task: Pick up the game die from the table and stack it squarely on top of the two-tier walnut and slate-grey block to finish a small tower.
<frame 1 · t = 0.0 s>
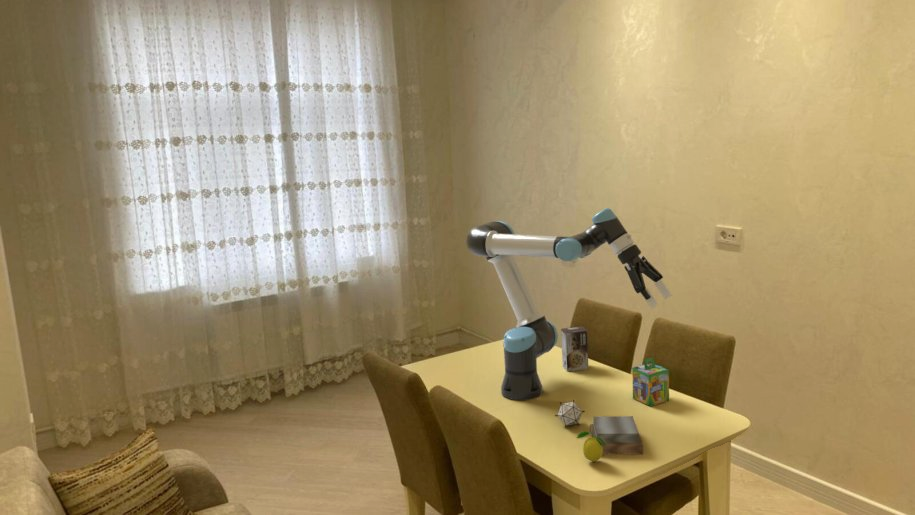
hand: (662, 302, 223), 36 cm above the table, tool tilted 35°, fingers open, 13 cm apart
chalk box: (650, 400, 233), on the table
lemon: (592, 462, 192), on the table
game die: (570, 425, 217), on the table
tower base: (615, 443, 203), on the table
coffee box: (575, 368, 268), on the table
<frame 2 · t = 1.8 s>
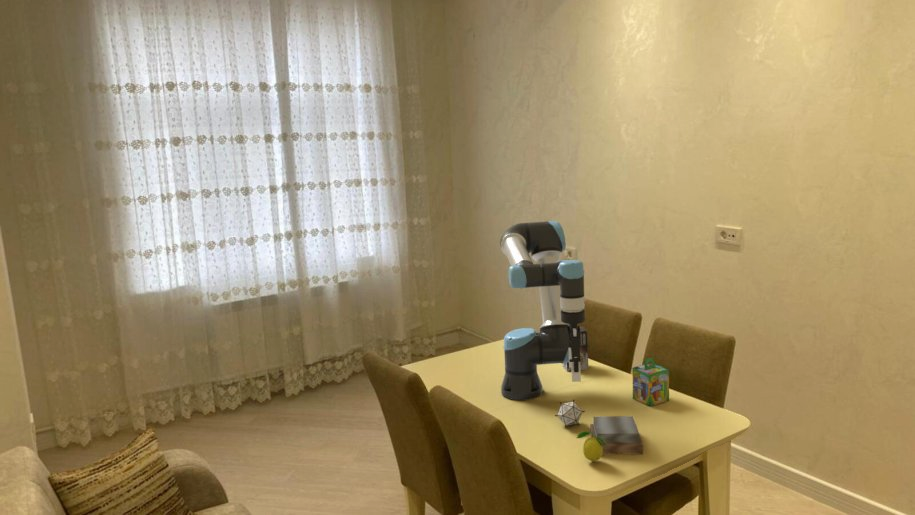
hand: (574, 374, 214), 17 cm above the table, tool pointing down, fingers open, 13 cm apart
nothing on the table moved.
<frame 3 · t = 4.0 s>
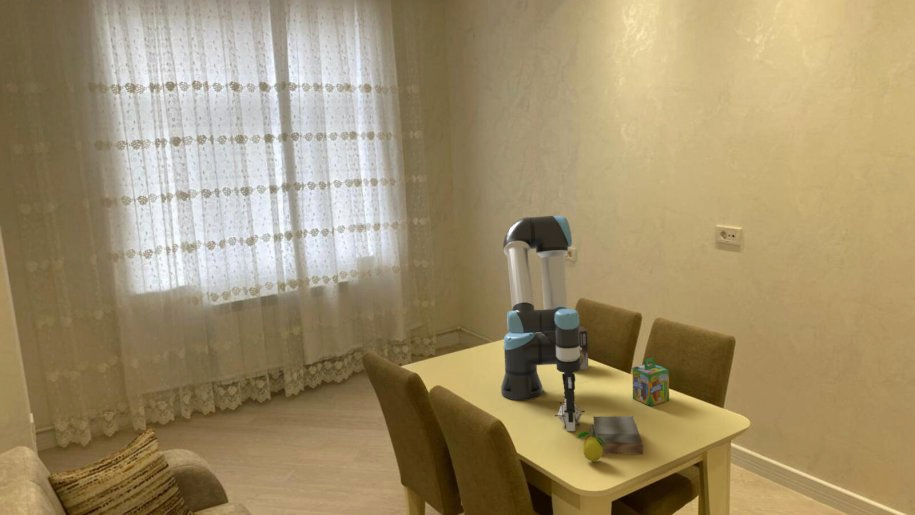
hand: (570, 424, 217), 0 cm above the table, tool pointing down, fingers closed on game die, 8 cm apart
game die: (570, 425, 217), on the table, touching gripper
everything else where it was.
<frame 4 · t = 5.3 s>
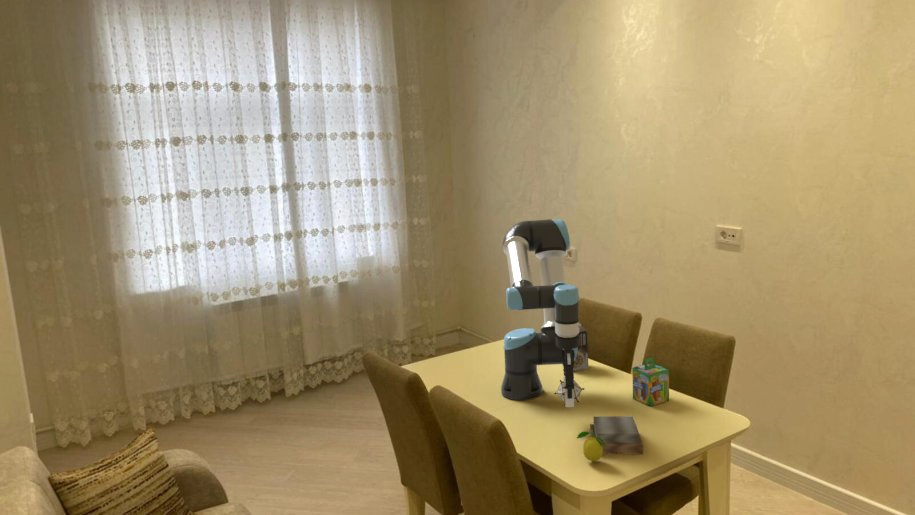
hand: (569, 400, 216), 8 cm above the table, tool pointing down, fingers closed on game die, 8 cm apart
game die: (569, 402, 216), point 7 cm above the table, touching gripper
everything else where it was.
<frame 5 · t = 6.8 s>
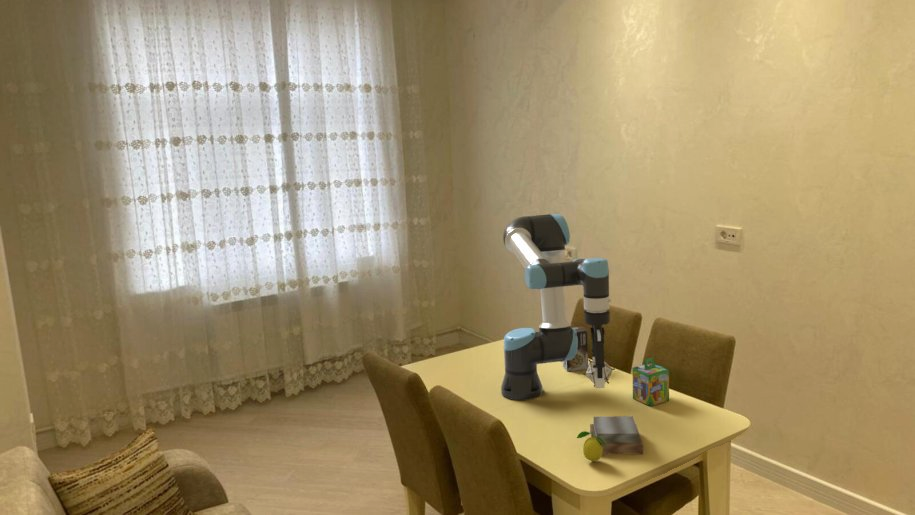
hand: (598, 382, 204), 18 cm above the table, tool pointing down, fingers closed on game die, 8 cm apart
game die: (599, 384, 204), point 17 cm above the table, touching gripper
everything else where it was.
when the fingers open (7 cm above the table, at t = 8.9 s): game die stays where it is, resting on tower base.
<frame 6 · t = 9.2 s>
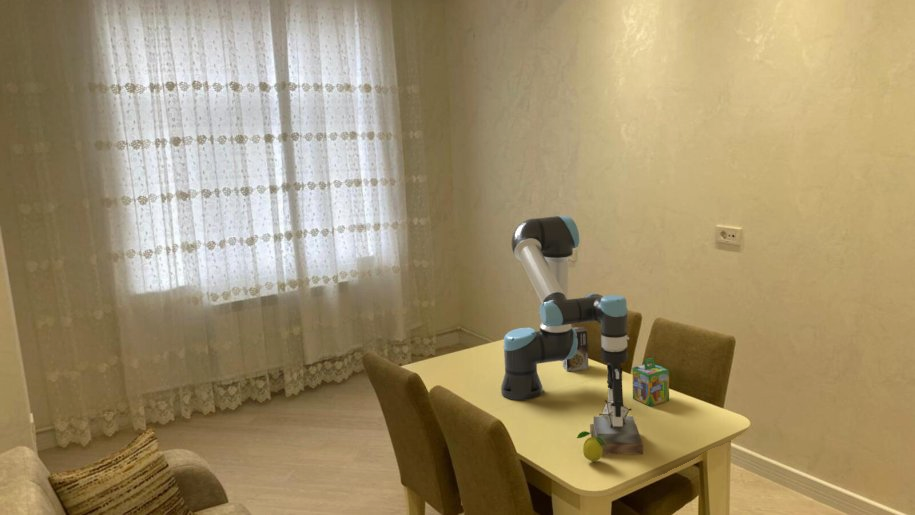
hand: (615, 417, 201), 8 cm above the table, tool pointing down, fingers open, 11 cm apart
game die: (615, 425, 202), point 6 cm above the table, touching tower base
everything else where it was.
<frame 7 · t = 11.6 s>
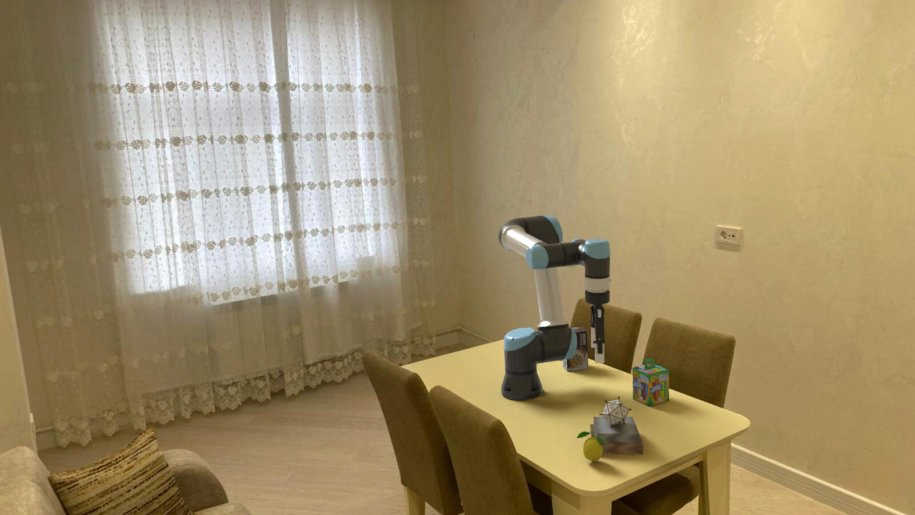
hand: (597, 354, 210), 24 cm above the table, tool pointing down, fingers open, 13 cm apart
nothing on the table moved.
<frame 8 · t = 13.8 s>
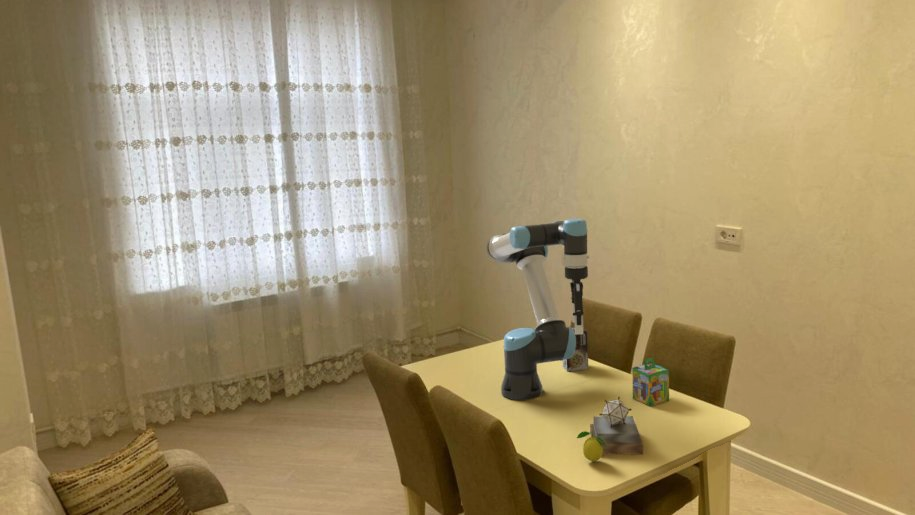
hand: (577, 328, 224), 29 cm above the table, tool pointing down, fingers open, 13 cm apart
nothing on the table moved.
at the end: game die 0.2 cm off-centre on the tower base, point 5.8 cm above the tower base's base; game die tilted 2°; the gripper is holding nothing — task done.
